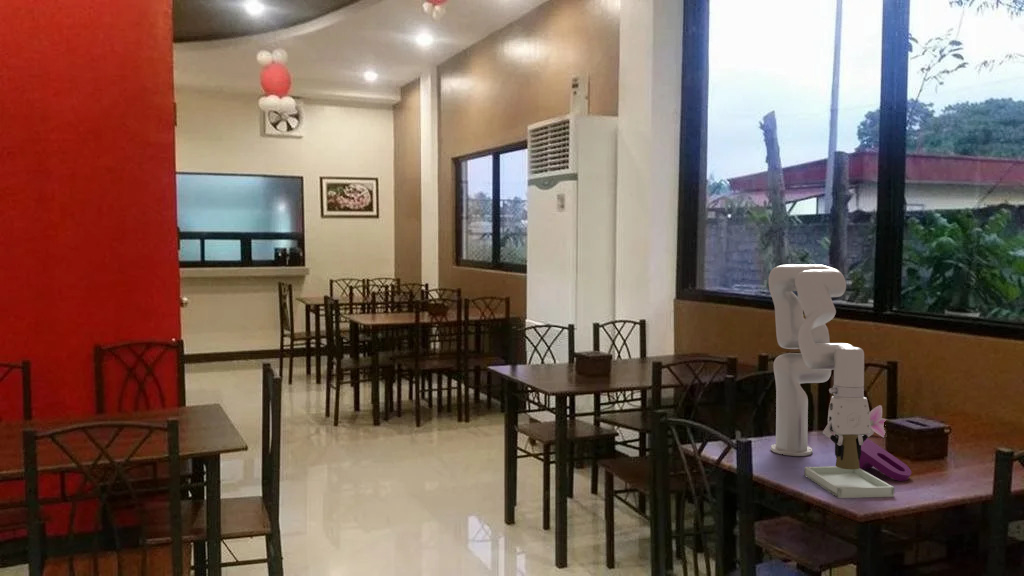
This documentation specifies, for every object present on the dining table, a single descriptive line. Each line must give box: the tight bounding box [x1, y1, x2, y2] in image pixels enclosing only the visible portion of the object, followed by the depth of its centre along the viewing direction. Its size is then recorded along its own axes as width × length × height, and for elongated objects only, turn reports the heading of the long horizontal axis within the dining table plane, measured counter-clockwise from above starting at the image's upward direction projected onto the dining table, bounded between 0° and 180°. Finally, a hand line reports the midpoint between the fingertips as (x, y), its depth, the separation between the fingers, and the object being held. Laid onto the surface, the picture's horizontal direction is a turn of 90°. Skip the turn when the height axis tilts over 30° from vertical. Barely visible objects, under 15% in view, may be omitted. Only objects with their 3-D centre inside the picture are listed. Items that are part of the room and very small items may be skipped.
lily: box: [869, 404, 888, 439], centre depth 266 cm, size 12×12×10 cm
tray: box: [803, 465, 895, 499], centre depth 208 cm, size 20×15×2 cm
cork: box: [835, 435, 860, 470], centre depth 207 cm, size 6×6×11 cm
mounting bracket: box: [859, 437, 912, 482], centre depth 220 cm, size 9×8×18 cm
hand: (847, 458), depth 208 cm, fingers closed on cork, 3 cm apart
